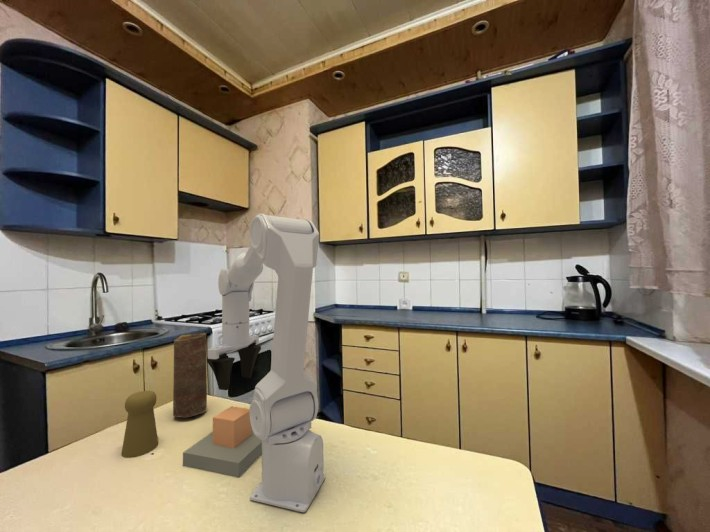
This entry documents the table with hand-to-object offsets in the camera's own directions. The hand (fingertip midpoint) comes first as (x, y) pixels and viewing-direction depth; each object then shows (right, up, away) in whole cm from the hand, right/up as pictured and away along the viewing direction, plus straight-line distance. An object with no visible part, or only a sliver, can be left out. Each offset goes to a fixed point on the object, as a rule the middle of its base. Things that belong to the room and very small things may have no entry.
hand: (235, 382), depth 65 cm
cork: (-16, -11, -7) cm, 21 cm away
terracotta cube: (+3, -8, -8) cm, 12 cm away
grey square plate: (+3, -11, -9) cm, 14 cm away
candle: (-14, -11, +7) cm, 19 cm away
